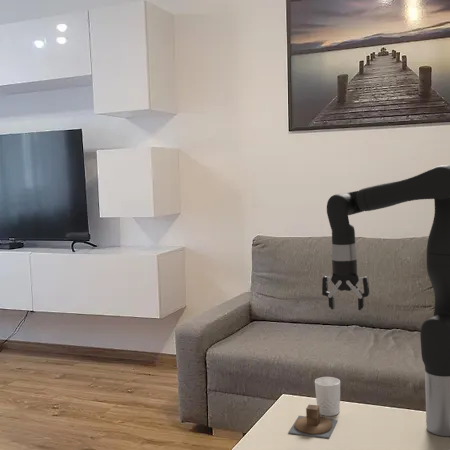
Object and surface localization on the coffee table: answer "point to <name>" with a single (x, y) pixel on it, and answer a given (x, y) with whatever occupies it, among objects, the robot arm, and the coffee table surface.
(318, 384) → the white cup
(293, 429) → the mat
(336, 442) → the coffee table surface
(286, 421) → the coffee table surface
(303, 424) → the lid
